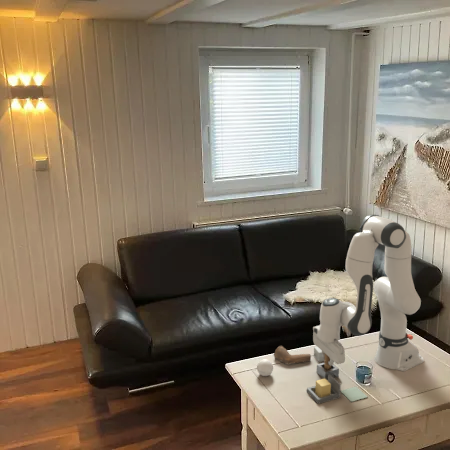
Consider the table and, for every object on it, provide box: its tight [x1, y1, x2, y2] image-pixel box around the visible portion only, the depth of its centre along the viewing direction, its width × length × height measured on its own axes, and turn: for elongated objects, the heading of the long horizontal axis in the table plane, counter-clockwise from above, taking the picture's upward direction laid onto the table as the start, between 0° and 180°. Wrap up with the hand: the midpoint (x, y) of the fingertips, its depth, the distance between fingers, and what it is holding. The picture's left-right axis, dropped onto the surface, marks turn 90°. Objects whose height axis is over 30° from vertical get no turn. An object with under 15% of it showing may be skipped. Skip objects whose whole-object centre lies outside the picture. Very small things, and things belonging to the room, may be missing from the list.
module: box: [314, 378, 331, 398], centre depth 216 cm, size 4×4×6 cm
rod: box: [323, 354, 331, 370], centre depth 229 cm, size 3×3×10 cm
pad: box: [340, 386, 368, 403], centre depth 217 cm, size 8×8×1 cm
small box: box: [313, 346, 324, 363], centre depth 244 cm, size 6×6×5 cm
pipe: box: [273, 345, 312, 365], centre depth 243 cm, size 6×17×10 cm
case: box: [306, 374, 342, 404], centre depth 216 cm, size 11×9×6 cm
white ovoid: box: [252, 358, 274, 377], centre depth 230 cm, size 10×7×7 cm
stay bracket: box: [316, 362, 340, 381], centre depth 230 cm, size 7×7×4 cm
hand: (328, 362), depth 229 cm, fingers closed on rod, 3 cm apart
